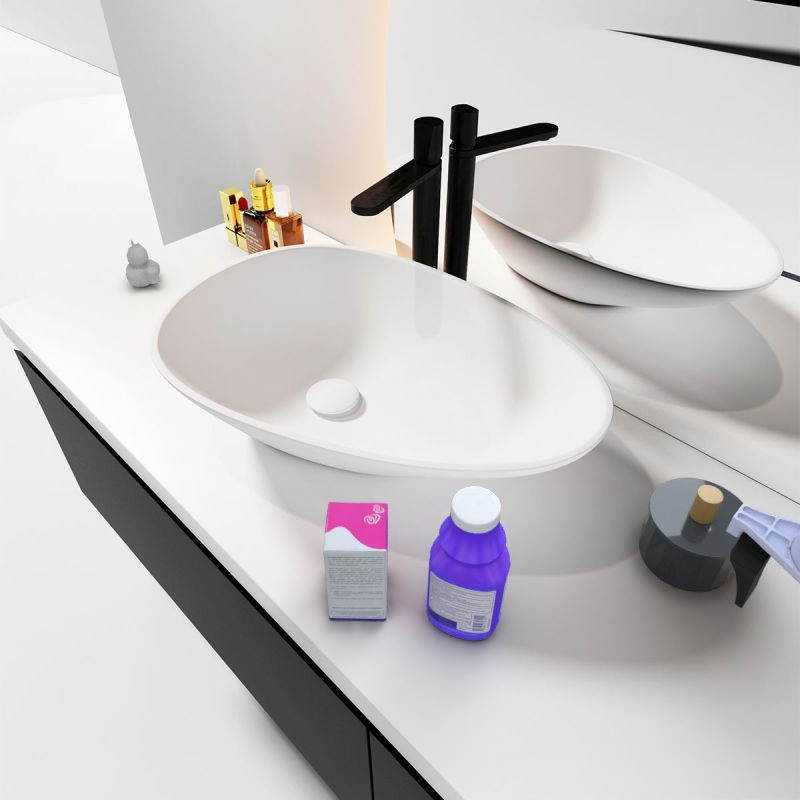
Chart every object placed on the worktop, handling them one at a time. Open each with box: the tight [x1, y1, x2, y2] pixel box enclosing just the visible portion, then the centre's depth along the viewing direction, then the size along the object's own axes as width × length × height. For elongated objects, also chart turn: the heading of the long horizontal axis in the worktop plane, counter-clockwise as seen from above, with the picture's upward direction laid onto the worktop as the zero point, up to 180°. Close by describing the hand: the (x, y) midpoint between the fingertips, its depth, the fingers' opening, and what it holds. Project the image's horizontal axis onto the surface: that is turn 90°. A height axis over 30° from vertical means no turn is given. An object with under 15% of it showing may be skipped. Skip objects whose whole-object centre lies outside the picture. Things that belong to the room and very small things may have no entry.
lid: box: [648, 477, 745, 560], centre depth 69 cm, size 10×10×4 cm
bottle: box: [426, 485, 511, 641], centre depth 63 cm, size 7×6×17 cm
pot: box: [638, 510, 734, 593], centre depth 72 cm, size 9×9×6 cm
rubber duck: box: [125, 239, 161, 288], centre depth 111 cm, size 5×7×8 cm
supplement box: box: [322, 501, 389, 622], centre depth 66 cm, size 6×6×12 cm
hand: (787, 626), depth 58 cm, fingers open, 7 cm apart
